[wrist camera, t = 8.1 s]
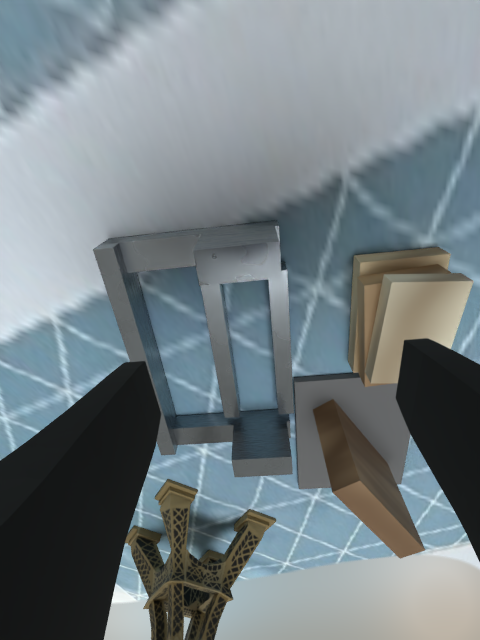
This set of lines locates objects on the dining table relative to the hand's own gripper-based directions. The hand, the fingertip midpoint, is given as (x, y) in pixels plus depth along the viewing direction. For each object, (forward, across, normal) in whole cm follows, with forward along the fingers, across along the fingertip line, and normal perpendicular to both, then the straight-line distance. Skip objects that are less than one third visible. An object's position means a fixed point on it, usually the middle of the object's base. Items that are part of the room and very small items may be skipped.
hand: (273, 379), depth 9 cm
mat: (+10, -6, +14) cm, 18 cm away
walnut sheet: (+9, -5, +13) cm, 17 cm away
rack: (+10, +3, +5) cm, 12 cm away
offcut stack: (+10, -7, +4) cm, 13 cm away
